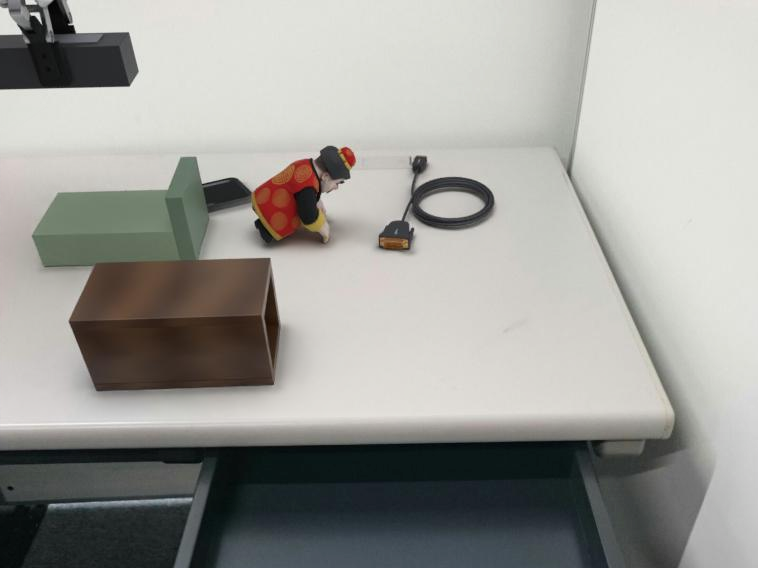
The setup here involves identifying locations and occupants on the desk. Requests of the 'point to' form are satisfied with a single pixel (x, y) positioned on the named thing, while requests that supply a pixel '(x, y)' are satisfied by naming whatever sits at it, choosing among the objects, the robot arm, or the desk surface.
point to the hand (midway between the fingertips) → (63, 74)
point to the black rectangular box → (72, 61)
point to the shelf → (179, 324)
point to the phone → (225, 194)
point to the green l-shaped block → (126, 223)
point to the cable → (398, 230)
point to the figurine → (300, 194)
